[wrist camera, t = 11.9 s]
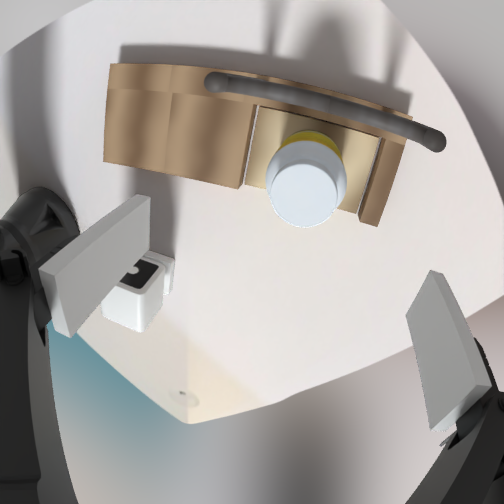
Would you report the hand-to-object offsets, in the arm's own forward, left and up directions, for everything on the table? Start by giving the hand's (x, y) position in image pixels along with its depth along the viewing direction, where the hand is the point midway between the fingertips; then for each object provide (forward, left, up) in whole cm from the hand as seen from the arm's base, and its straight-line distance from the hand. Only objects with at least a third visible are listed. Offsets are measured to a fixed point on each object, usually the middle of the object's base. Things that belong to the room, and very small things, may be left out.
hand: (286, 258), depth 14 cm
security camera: (-16, -18, -21) cm, 32 cm away
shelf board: (-7, +2, -21) cm, 22 cm away
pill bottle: (0, 0, -20) cm, 20 cm away
